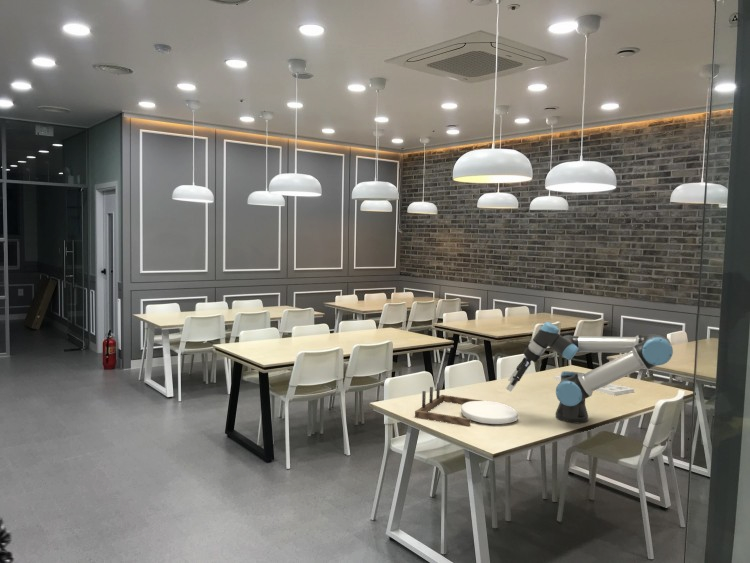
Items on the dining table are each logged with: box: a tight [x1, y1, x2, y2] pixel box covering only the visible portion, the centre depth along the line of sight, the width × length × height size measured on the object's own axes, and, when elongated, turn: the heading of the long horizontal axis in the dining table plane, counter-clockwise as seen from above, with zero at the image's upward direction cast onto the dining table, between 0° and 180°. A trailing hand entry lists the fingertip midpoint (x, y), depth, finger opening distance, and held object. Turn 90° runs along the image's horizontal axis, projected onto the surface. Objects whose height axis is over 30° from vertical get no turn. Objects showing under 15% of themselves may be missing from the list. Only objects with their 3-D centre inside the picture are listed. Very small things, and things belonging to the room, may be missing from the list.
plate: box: [461, 400, 519, 425], centre depth 282 cm, size 28×6×27 cm
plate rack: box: [414, 382, 483, 427], centre depth 289 cm, size 27×37×11 cm
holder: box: [553, 374, 635, 397], centre depth 355 cm, size 45×18×3 cm, turn 30°
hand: (509, 385), depth 282 cm, fingers open, 13 cm apart
